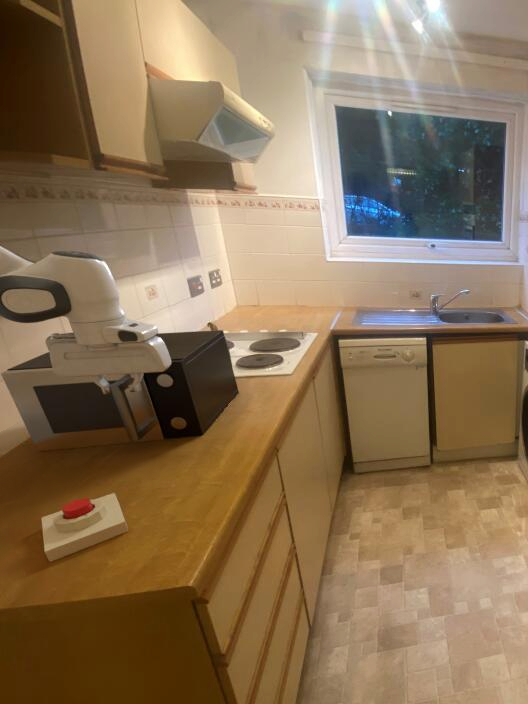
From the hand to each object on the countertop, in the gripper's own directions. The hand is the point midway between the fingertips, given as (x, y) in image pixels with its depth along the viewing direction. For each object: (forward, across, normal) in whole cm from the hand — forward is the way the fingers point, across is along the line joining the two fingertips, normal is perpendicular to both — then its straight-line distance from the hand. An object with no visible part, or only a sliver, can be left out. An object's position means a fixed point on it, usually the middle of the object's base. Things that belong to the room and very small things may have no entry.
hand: (123, 391), depth 96 cm
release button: (+11, +4, -29) cm, 31 cm away
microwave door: (+15, -11, +3) cm, 19 cm away
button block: (+15, +4, -28) cm, 33 cm away
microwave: (+15, -6, +18) cm, 25 cm away
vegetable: (+15, +4, +44) cm, 47 cm away
